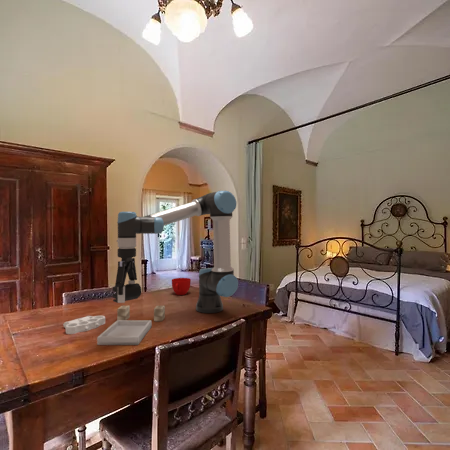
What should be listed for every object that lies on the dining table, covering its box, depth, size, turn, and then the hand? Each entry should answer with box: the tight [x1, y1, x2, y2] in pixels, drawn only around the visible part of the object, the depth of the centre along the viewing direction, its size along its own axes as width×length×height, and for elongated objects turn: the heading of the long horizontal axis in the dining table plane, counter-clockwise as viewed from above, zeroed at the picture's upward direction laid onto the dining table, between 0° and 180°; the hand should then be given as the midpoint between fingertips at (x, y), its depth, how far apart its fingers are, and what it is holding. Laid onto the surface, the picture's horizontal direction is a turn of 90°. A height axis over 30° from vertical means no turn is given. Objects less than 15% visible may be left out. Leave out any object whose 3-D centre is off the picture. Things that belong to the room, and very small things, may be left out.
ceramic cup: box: [171, 277, 192, 296], centre depth 193 cm, size 13×17×10 cm
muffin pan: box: [63, 315, 106, 335], centre depth 131 cm, size 3×18×15 cm
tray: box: [96, 319, 153, 346], centre depth 121 cm, size 16×20×3 cm
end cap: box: [111, 282, 142, 304], centre depth 121 cm, size 10×7×7 cm
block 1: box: [116, 305, 131, 321], centre depth 142 cm, size 4×6×6 cm, turn 0°
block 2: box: [153, 305, 166, 322], centre depth 142 cm, size 4×6×6 cm, turn 0°
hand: (126, 298), depth 121 cm, fingers closed on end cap, 12 cm apart
